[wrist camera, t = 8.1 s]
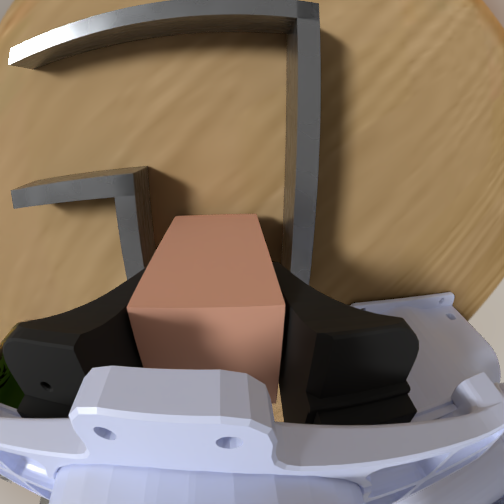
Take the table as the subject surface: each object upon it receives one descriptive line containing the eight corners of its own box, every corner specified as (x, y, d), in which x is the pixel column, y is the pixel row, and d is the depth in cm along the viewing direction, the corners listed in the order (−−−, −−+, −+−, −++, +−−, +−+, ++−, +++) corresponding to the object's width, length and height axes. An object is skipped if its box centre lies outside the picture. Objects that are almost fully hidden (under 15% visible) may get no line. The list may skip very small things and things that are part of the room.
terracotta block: (256, 213, 14) (285, 304, 7) (255, 285, 16) (276, 403, 9) (175, 215, 14) (126, 307, 7) (182, 286, 16) (156, 404, 8)
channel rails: (305, 20, 11) (318, 3, 9) (295, 298, 18) (304, 322, 15) (34, 54, 10) (10, 48, 8) (61, 298, 17) (44, 319, 14)
